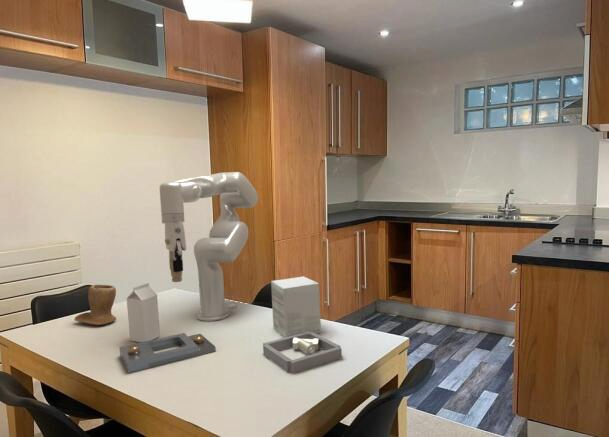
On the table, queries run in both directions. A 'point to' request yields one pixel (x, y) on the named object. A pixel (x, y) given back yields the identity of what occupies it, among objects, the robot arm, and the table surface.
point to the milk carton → (143, 314)
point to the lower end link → (198, 339)
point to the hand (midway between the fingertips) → (176, 269)
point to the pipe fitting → (306, 345)
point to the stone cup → (99, 305)
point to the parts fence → (296, 365)
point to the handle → (175, 275)
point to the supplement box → (295, 306)
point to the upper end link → (142, 353)
